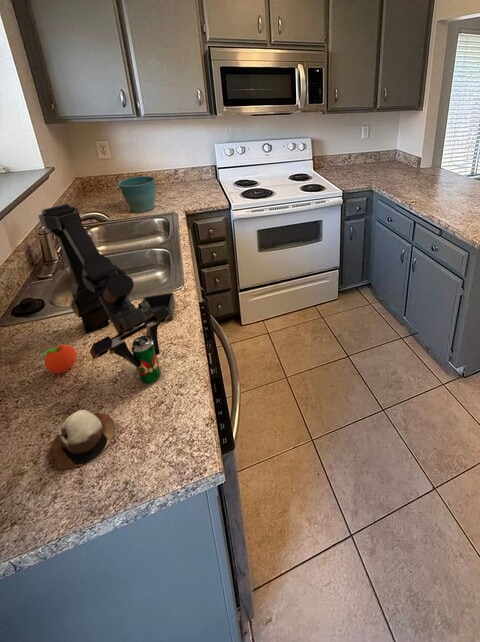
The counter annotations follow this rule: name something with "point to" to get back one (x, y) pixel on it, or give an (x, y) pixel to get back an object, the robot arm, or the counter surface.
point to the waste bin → (161, 303)
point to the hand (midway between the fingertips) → (148, 360)
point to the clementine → (60, 358)
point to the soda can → (146, 359)
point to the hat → (81, 439)
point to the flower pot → (139, 193)
